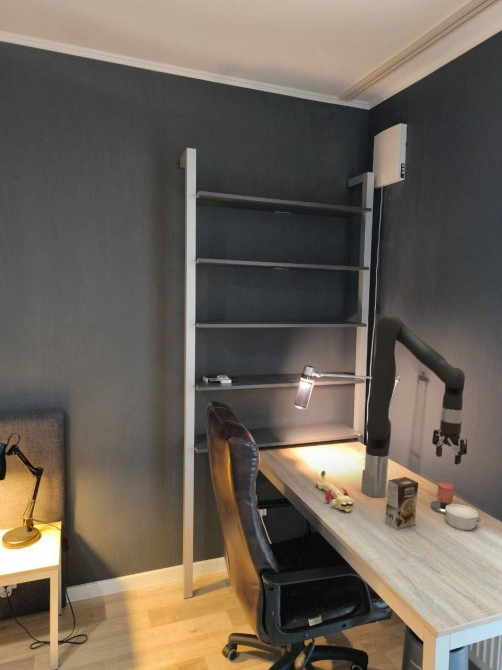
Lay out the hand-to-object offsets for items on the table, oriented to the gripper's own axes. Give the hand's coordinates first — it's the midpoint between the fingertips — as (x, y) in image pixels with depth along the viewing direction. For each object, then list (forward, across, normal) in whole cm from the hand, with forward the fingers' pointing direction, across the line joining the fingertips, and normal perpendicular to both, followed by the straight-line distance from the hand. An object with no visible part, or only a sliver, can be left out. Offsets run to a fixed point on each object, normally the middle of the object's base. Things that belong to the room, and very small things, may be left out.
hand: (447, 460), depth 181 cm
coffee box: (+20, +2, -25) cm, 32 cm away
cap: (+16, 0, 0) cm, 16 cm away
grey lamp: (+20, 0, 0) cm, 20 cm away
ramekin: (+20, +11, -4) cm, 23 cm away
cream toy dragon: (+20, -24, -36) cm, 47 cm away
